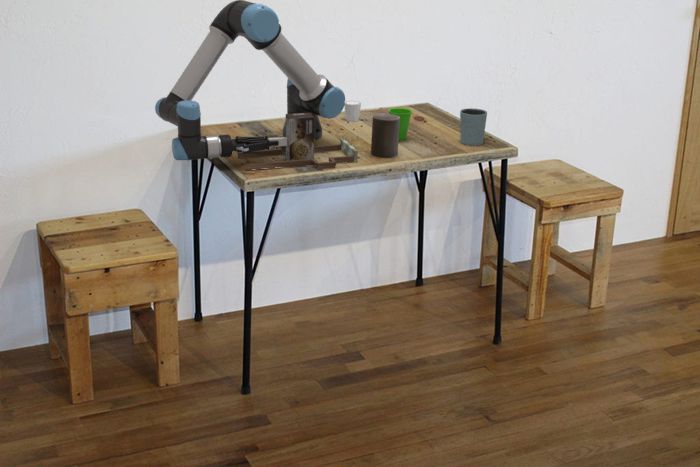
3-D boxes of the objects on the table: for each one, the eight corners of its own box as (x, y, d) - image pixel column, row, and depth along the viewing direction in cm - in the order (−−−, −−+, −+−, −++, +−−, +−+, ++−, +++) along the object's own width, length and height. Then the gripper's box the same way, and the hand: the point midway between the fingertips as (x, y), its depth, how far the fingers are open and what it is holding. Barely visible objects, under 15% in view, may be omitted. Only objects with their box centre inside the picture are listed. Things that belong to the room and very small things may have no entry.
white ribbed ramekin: (363, 119, 371) (364, 102, 369) (354, 122, 366) (355, 105, 363) (349, 116, 375) (349, 99, 372) (340, 120, 369) (340, 103, 367)
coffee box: (310, 156, 323) (310, 112, 316) (314, 162, 317) (315, 116, 311) (285, 158, 320) (285, 113, 314) (288, 163, 315) (288, 118, 308)
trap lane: (234, 153, 323) (234, 142, 322) (339, 145, 336) (339, 135, 334) (250, 175, 302) (250, 163, 301) (361, 165, 314) (362, 154, 313)
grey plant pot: (469, 147, 337) (472, 116, 333) (452, 140, 345) (454, 109, 341) (490, 143, 343) (493, 112, 338) (472, 137, 350) (475, 106, 346)
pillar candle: (375, 158, 322) (377, 117, 317) (367, 150, 331) (369, 110, 325) (401, 157, 325) (404, 116, 319) (392, 149, 334) (395, 109, 328)
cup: (409, 143, 341) (410, 114, 337) (385, 141, 342) (386, 112, 338) (412, 136, 349) (413, 108, 345) (389, 134, 351) (390, 106, 347)
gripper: (215, 151, 314) (281, 146, 321) (223, 162, 302) (291, 157, 310) (214, 130, 311) (281, 125, 318) (222, 140, 300) (291, 135, 307)
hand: (286, 141), depth 314 cm, fingers closed
